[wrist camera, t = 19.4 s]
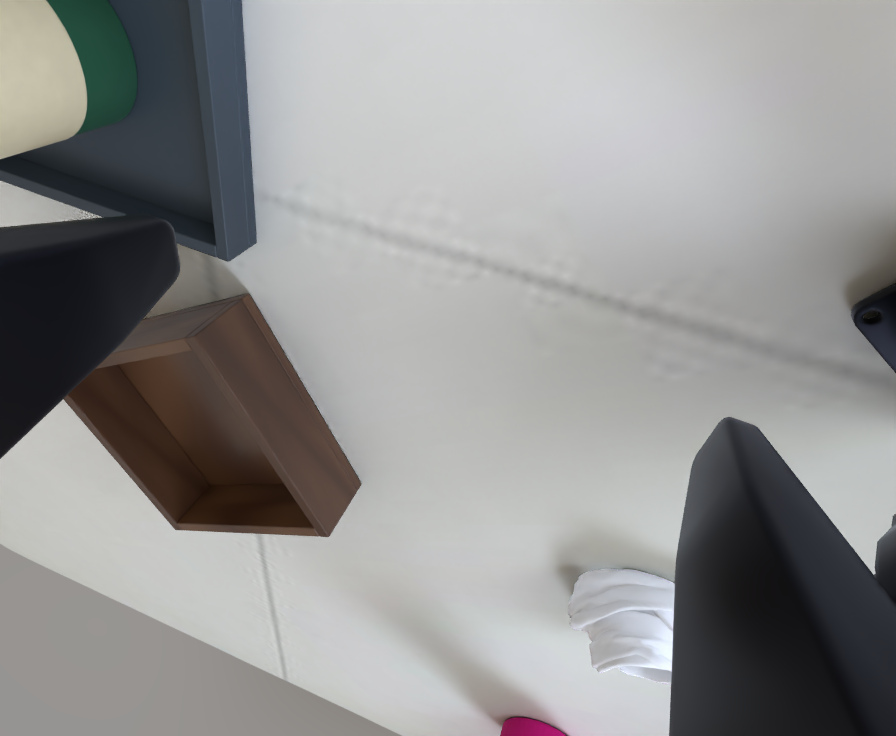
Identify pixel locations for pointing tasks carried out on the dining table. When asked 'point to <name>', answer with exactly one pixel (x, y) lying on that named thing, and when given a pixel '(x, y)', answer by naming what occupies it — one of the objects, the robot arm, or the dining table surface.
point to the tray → (166, 132)
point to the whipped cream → (626, 621)
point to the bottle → (61, 71)
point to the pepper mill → (528, 728)
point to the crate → (217, 425)
